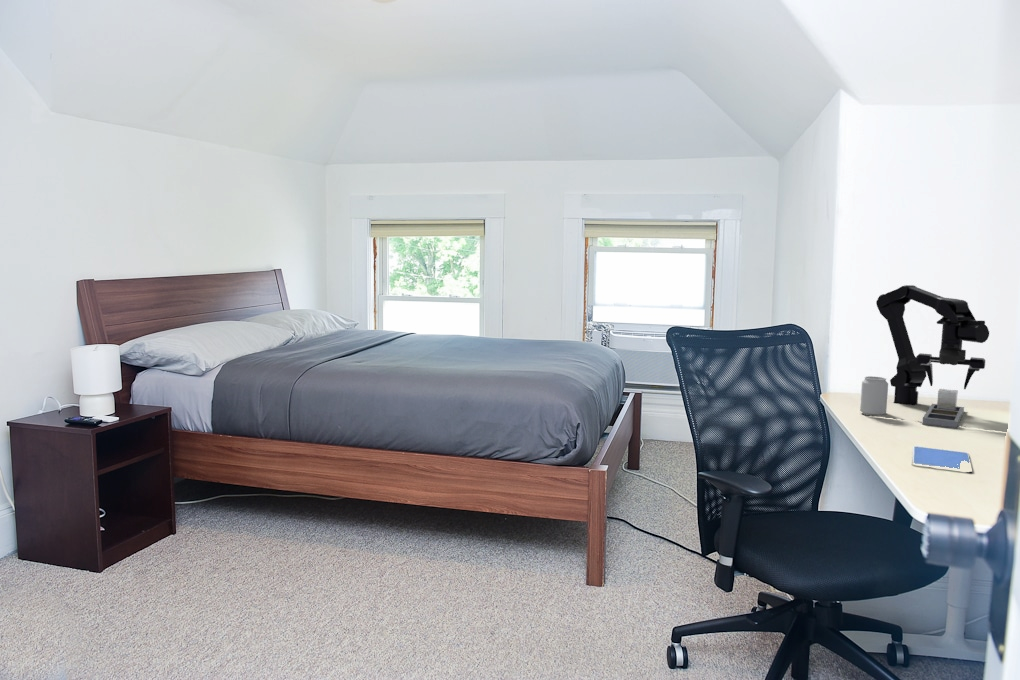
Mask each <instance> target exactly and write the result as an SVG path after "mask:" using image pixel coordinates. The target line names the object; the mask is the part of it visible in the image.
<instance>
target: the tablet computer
mask: <svg viewBox="0 0 1020 680" xmlns="http://www.w3.org/2000/svg"><path fill="white" fill-rule="evenodd" d="M912 451H913V463H915V464H922V465H929V466H940V467H945V466H946V467H949V468H953V467H954V468H957V469H960V463H961V461H964V460H965V461H967V462H968V463H969V462H970V461H969V456H970V454H969V453H968V452H964V451H954V450H948V449H939V448H931V447H923V446H913V447H912ZM968 454H969V455H968ZM957 464H958V465H957ZM958 467H959V468H958Z"/></svg>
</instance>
